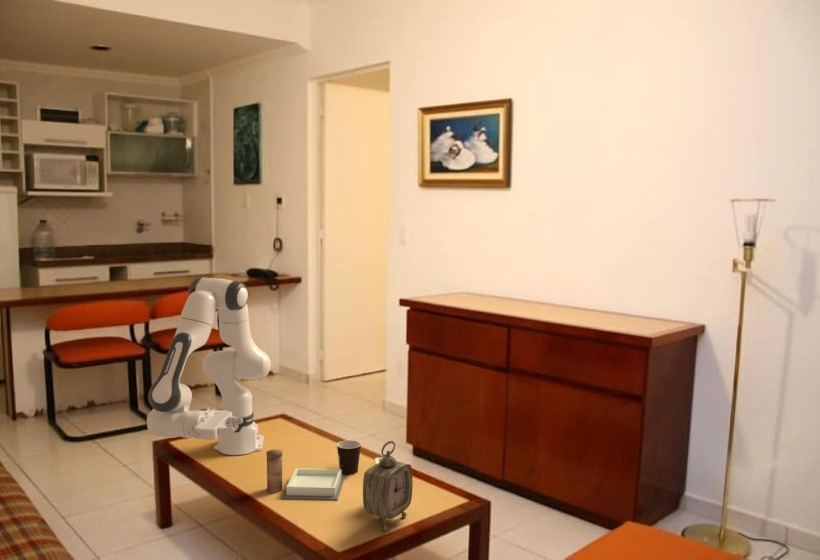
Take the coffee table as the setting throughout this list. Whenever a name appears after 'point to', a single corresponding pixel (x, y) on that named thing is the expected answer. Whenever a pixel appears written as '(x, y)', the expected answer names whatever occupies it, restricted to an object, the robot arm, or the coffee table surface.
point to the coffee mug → (349, 456)
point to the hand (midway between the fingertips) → (238, 425)
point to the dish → (314, 482)
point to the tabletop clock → (387, 487)
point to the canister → (274, 471)
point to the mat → (303, 497)
